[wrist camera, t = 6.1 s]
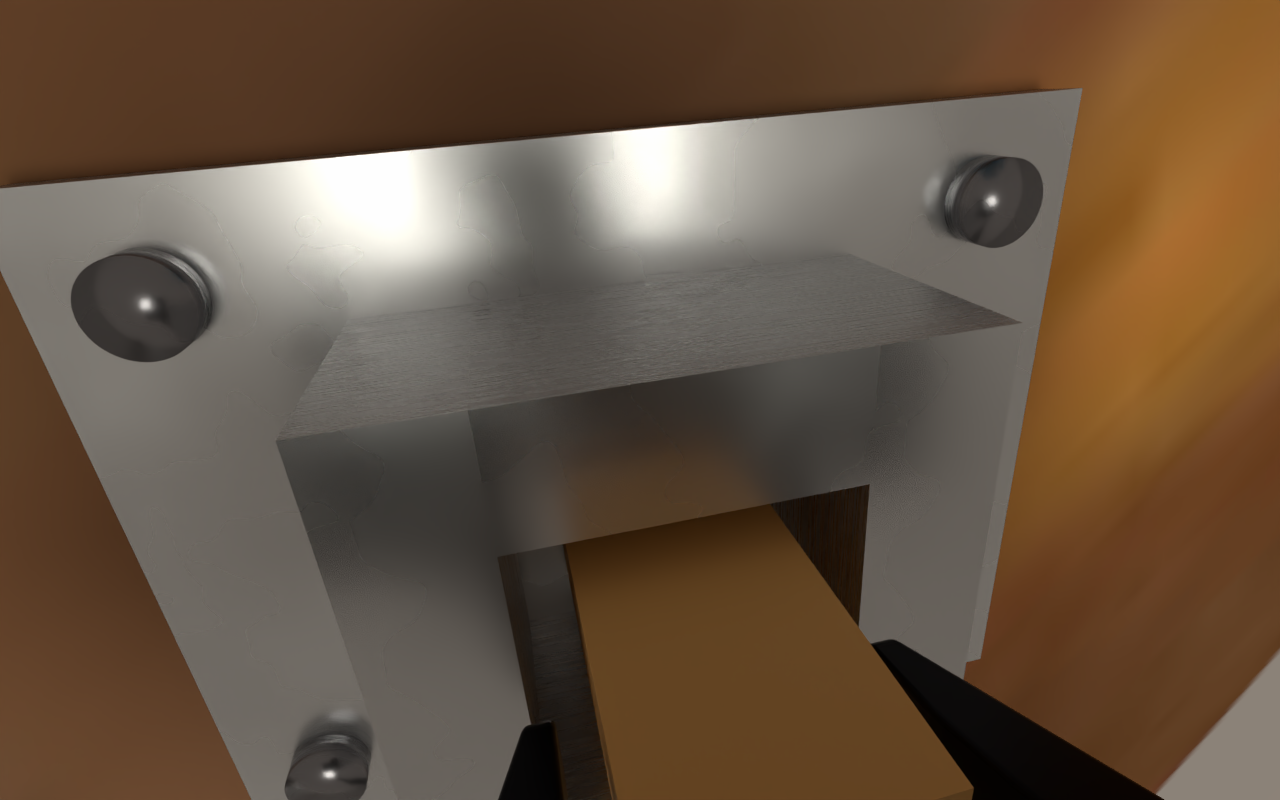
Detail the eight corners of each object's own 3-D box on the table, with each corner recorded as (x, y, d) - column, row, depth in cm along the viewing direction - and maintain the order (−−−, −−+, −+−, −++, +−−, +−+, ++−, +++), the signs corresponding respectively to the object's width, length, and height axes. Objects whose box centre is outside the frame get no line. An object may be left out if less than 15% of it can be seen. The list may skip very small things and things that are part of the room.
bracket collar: (956, 632, 19) (1123, 815, 14) (280, 795, 16) (194, 1100, 11) (1041, 88, 13) (1374, 80, 8) (7, 184, 10) (-426, 257, 5)
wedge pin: (713, 546, 15) (939, 972, 8) (568, 578, 14) (664, 1065, 7) (706, 416, 13) (974, 787, 6) (545, 446, 13) (636, 888, 6)
